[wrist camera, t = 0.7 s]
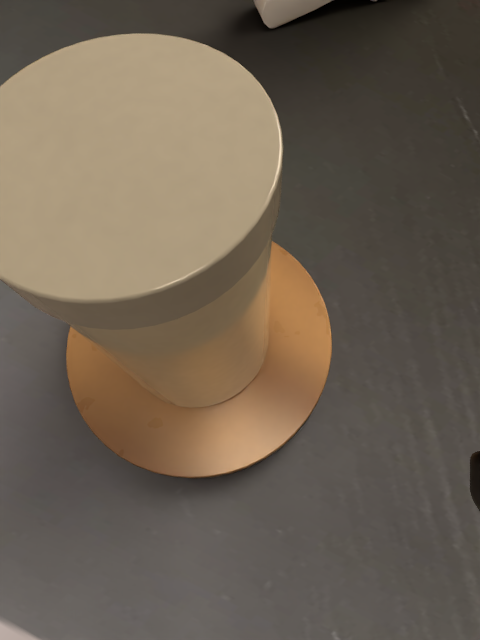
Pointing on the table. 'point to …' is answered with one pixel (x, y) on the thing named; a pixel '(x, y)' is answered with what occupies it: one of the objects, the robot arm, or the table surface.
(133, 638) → the table surface
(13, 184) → the lidded mug
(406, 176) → the table surface
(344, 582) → the table surface
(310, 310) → the disc
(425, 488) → the table surface
